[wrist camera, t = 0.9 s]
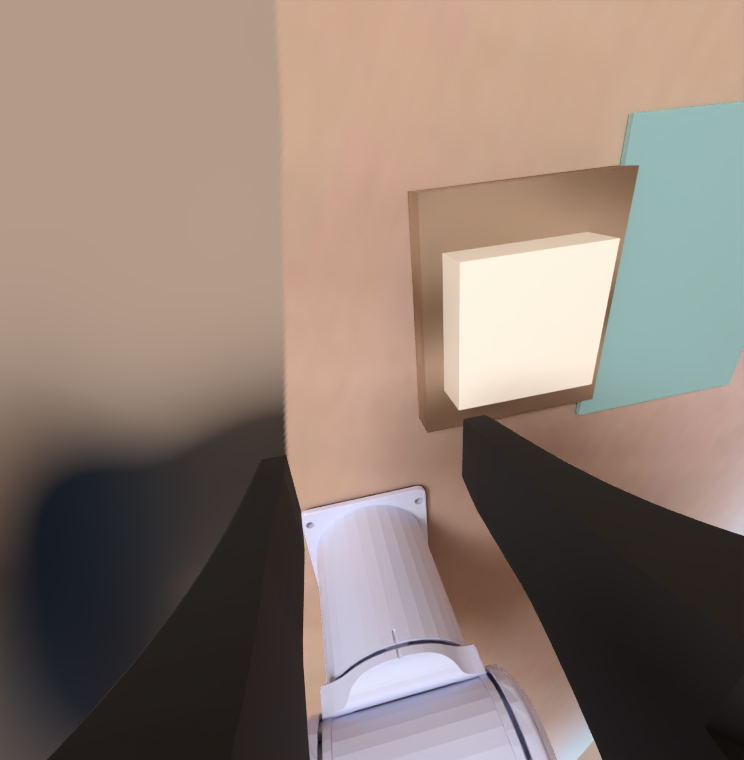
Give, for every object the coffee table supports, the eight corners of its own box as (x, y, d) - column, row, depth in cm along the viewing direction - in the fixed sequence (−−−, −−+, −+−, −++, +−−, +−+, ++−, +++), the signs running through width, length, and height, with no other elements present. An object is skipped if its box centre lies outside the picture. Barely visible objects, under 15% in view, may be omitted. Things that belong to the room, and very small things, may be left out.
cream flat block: (566, 366, 21) (591, 383, 20) (444, 390, 21) (458, 410, 19) (587, 231, 18) (620, 238, 16) (442, 253, 17) (459, 262, 15)
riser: (575, 386, 24) (592, 399, 23) (419, 417, 23) (427, 432, 22) (614, 165, 18) (639, 165, 17) (407, 191, 17) (417, 193, 16)
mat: (724, 382, 26) (729, 384, 26) (575, 412, 25) (578, 415, 25) (836, 91, 19) (843, 90, 19) (629, 113, 17) (634, 113, 17)
